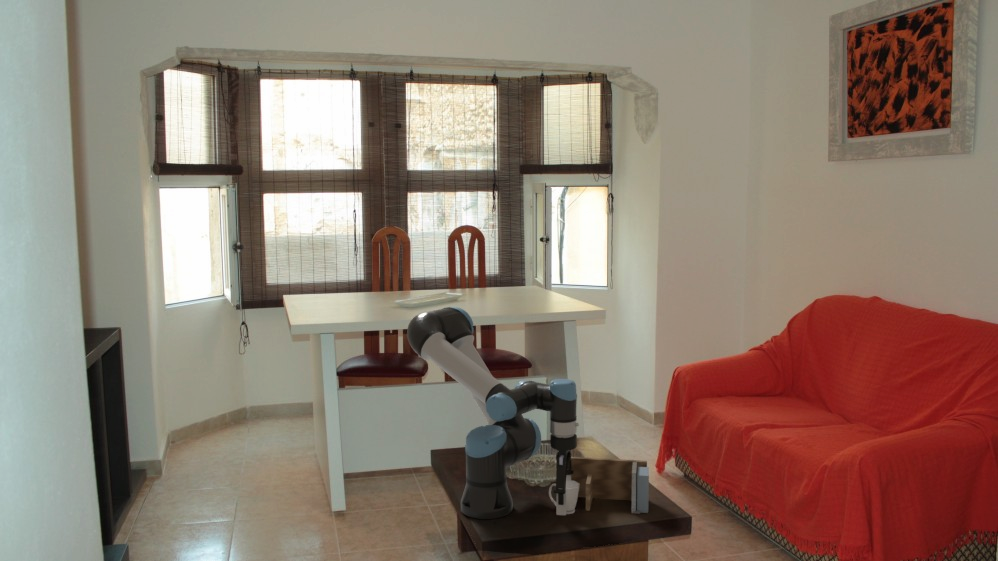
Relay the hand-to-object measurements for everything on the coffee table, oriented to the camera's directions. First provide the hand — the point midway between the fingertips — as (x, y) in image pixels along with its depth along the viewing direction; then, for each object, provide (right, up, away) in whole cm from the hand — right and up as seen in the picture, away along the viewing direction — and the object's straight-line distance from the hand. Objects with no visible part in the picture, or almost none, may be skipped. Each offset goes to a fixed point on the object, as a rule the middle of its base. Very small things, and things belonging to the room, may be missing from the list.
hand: (564, 505), depth 238 cm
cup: (0, -2, 0) cm, 2 cm away
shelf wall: (+13, 0, +9) cm, 15 cm away
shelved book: (+23, -1, +1) cm, 23 cm away
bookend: (+20, -1, +2) cm, 21 cm away
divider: (+8, -1, +4) cm, 8 cm away
